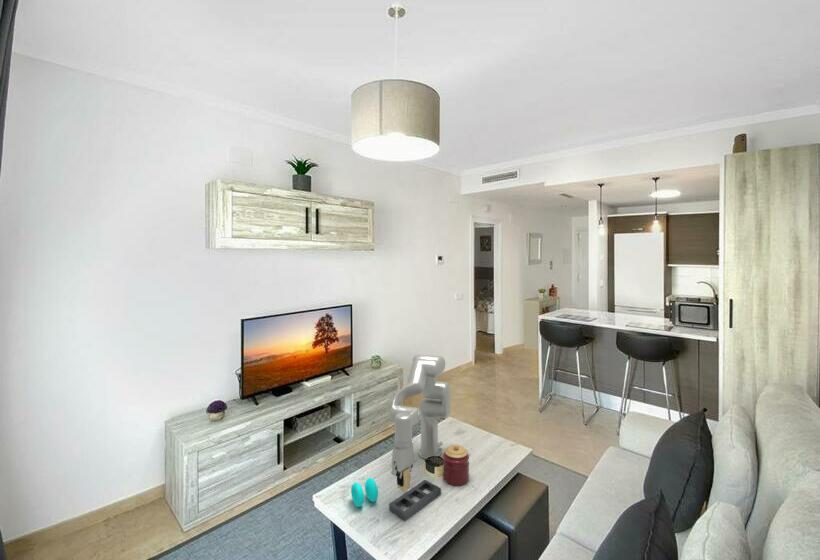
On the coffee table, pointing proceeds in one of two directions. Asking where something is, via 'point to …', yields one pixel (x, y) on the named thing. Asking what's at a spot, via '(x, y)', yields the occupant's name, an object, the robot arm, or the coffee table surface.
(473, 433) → the coffee table surface
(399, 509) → the grey flat slotted block
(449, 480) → the canister
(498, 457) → the coffee table surface
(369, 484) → the donuts
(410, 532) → the coffee table surface
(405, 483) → the brass peg
